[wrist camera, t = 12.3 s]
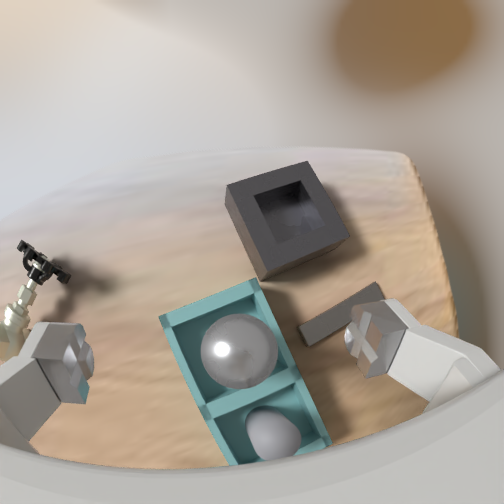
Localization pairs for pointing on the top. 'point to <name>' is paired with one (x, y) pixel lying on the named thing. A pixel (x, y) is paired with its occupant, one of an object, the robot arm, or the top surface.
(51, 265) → the valve
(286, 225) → the socket block
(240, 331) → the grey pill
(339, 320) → the bar
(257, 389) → the rack
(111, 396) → the top surface
